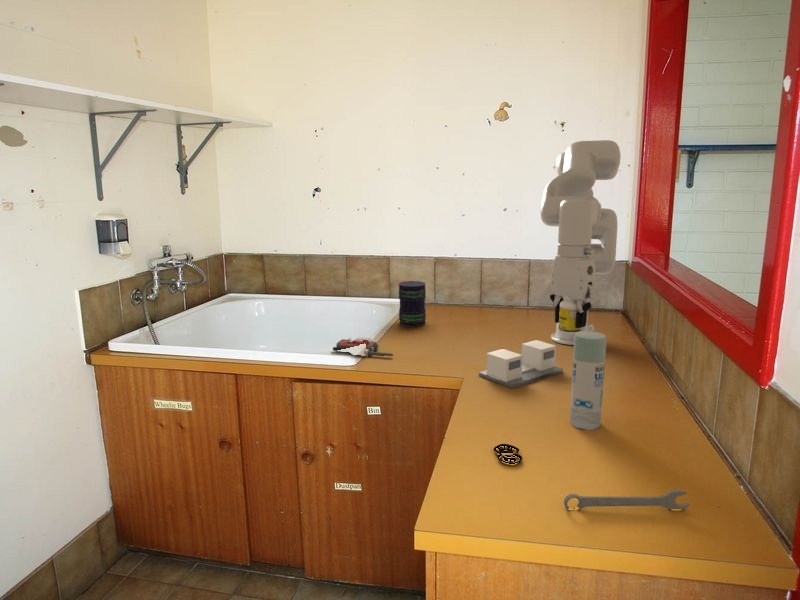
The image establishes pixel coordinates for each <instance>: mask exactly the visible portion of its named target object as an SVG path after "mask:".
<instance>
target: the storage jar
mask: <svg viewBox="0 0 800 600" xmlns="http://www.w3.org/2000/svg"><path fill="white" fill-rule="evenodd" d="M398 286H399V287H398V299H399V309H398V318H399V321H398V322H399V323H400V324H401V325H400V324H399V325H400V326H402V325H403V326H402V327H406V326H419V327H422V326H421V325H423V326H425V325H426V324H425V323H427V322H426V318H427V313H426V311H427V310H426V297H427V296H426V293H427V292H426V291H427V289H426V282H424V281H421V280H420V281H418V280H417V281H415V280H410V281H401V282H399V283H398ZM424 324H425V325H424Z"/></svg>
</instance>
